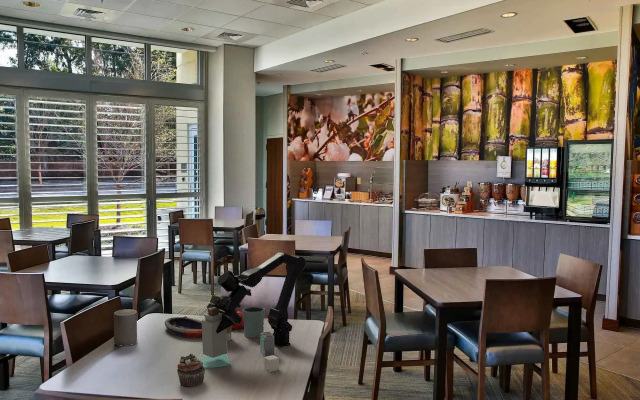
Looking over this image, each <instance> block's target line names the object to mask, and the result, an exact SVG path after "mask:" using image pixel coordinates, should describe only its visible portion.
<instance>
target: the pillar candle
mask: <svg viewBox="0 0 640 400" xmlns="http://www.w3.org/2000/svg"><path fill="white" fill-rule="evenodd" d="M113 340H114V342H113V344H114V343H115V344H116V345H129V346H132V345H131V344H133V345H135V344H137V343H136V342H138V311H137V310H135V309H129V308H128V309H126V308H125V309H119V310H116V311H114V312H113ZM134 343H135V344H134ZM116 345H115V346H116Z"/></svg>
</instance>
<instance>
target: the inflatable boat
mask: <svg viewBox="0 0 640 400" xmlns="http://www.w3.org/2000/svg"><path fill="white" fill-rule="evenodd" d="M164 326H165V328H166V329H167V331H168V332H169V333H171V334H173V335H176V336H179V337H180V338H181V337H182V338H188V339H193V338H194V339H197V338H198V339H199V338H202V320H200V319H197V318H192V317H188V316H186V315H185V316H176V317H175V316H173V317H169V318H166V319H165V321H164Z"/></svg>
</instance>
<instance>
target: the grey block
mask: <svg viewBox="0 0 640 400" xmlns="http://www.w3.org/2000/svg"><path fill="white" fill-rule="evenodd" d="M274 355H275V354H274ZM274 355H271V356H267V357H264V356H263V357H264V358H263V363H264V364H263V365H264V366H263V367H264V368H263V369H264V370H266V371H267V372H269V373H271V372H275V371H278V370H280V362H279V361H280V358H279V357H278V356H276V355H275V356H274Z"/></svg>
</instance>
